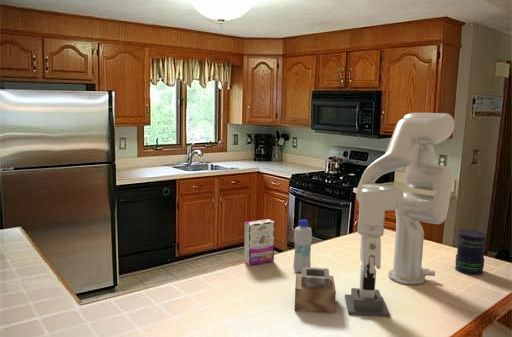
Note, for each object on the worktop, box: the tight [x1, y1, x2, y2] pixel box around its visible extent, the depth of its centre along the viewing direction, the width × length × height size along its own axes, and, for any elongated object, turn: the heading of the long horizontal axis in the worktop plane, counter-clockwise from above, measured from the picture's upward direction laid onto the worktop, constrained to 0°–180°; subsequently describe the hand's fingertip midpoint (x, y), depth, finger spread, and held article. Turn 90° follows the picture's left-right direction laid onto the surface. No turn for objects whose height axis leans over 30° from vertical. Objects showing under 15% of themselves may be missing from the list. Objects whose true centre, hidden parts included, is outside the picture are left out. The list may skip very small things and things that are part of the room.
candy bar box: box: [243, 218, 275, 266], centre depth 170 cm, size 11×5×16 cm, turn 117°
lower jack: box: [344, 287, 391, 318], centre depth 134 cm, size 12×12×4 cm
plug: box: [359, 263, 377, 299], centre depth 133 cm, size 4×4×12 cm
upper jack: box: [293, 267, 337, 314], centre depth 135 cm, size 12×12×10 cm
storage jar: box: [454, 229, 487, 276], centre depth 166 cm, size 10×10×15 cm
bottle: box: [293, 219, 313, 274], centre depth 161 cm, size 7×7×20 cm
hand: (367, 285), depth 133 cm, fingers closed on plug, 4 cm apart
